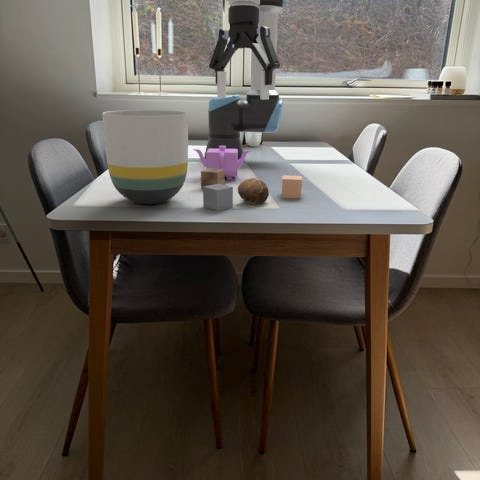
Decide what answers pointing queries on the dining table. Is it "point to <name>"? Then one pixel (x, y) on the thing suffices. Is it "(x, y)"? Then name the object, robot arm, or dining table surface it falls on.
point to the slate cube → (217, 197)
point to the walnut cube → (212, 177)
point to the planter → (146, 153)
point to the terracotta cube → (291, 186)
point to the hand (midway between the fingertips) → (242, 98)
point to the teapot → (223, 160)
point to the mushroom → (253, 191)
